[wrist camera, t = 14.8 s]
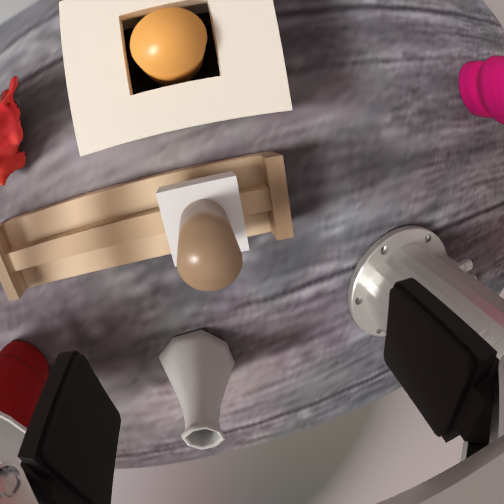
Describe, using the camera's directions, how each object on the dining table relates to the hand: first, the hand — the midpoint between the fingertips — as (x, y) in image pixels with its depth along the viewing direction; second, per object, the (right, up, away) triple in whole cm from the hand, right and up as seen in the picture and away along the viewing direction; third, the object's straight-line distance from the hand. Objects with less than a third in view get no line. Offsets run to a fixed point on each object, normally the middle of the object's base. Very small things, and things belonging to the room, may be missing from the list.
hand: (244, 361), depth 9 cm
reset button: (-5, +16, +9) cm, 19 cm away
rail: (-10, +6, +15) cm, 19 cm away
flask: (-5, -7, +22) cm, 24 cm away
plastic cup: (-24, -9, +19) cm, 32 cm away
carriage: (-3, +6, +14) cm, 16 cm away
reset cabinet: (-5, +17, +11) cm, 21 cm away
